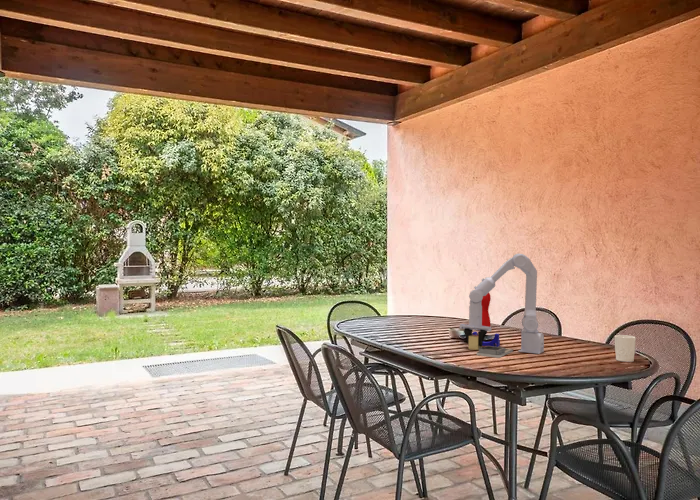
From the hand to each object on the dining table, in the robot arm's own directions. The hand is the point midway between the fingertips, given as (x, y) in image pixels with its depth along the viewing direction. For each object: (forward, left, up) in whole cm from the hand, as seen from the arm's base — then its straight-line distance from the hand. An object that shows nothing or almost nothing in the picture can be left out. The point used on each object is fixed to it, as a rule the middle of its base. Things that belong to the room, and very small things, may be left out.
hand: (475, 345), depth 257 cm
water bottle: (+23, -65, -2) cm, 69 cm away
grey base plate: (-11, +4, -1) cm, 12 cm away
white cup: (-60, -14, -2) cm, 62 cm away
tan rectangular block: (0, 0, -1) cm, 1 cm away
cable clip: (0, -13, -2) cm, 13 cm away
